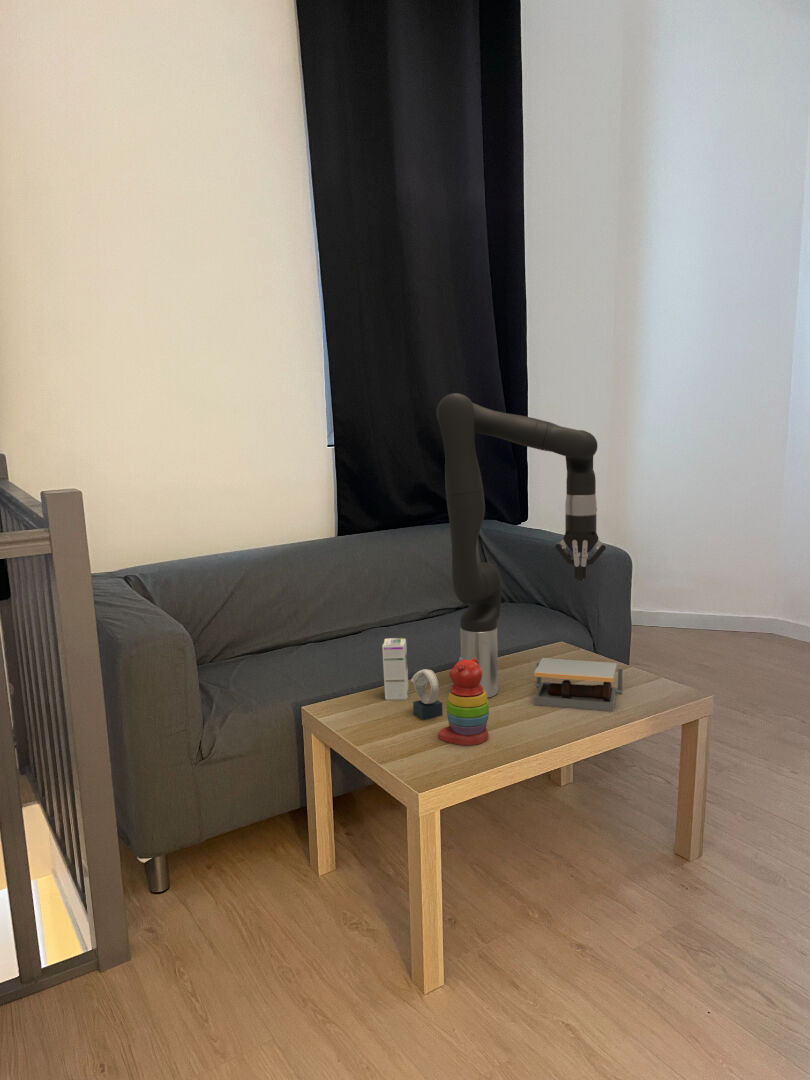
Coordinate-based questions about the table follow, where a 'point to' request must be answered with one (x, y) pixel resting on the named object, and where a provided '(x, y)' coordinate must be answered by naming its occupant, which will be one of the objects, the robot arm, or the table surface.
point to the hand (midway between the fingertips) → (580, 580)
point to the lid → (576, 670)
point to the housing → (576, 702)
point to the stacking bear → (466, 706)
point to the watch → (426, 705)
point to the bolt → (580, 690)
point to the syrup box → (395, 669)
